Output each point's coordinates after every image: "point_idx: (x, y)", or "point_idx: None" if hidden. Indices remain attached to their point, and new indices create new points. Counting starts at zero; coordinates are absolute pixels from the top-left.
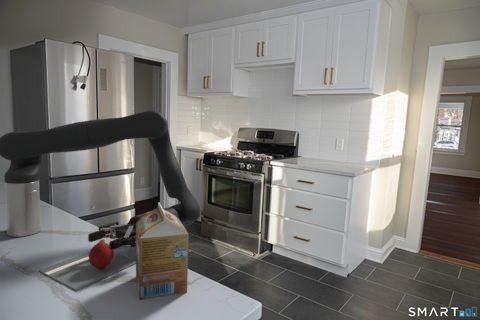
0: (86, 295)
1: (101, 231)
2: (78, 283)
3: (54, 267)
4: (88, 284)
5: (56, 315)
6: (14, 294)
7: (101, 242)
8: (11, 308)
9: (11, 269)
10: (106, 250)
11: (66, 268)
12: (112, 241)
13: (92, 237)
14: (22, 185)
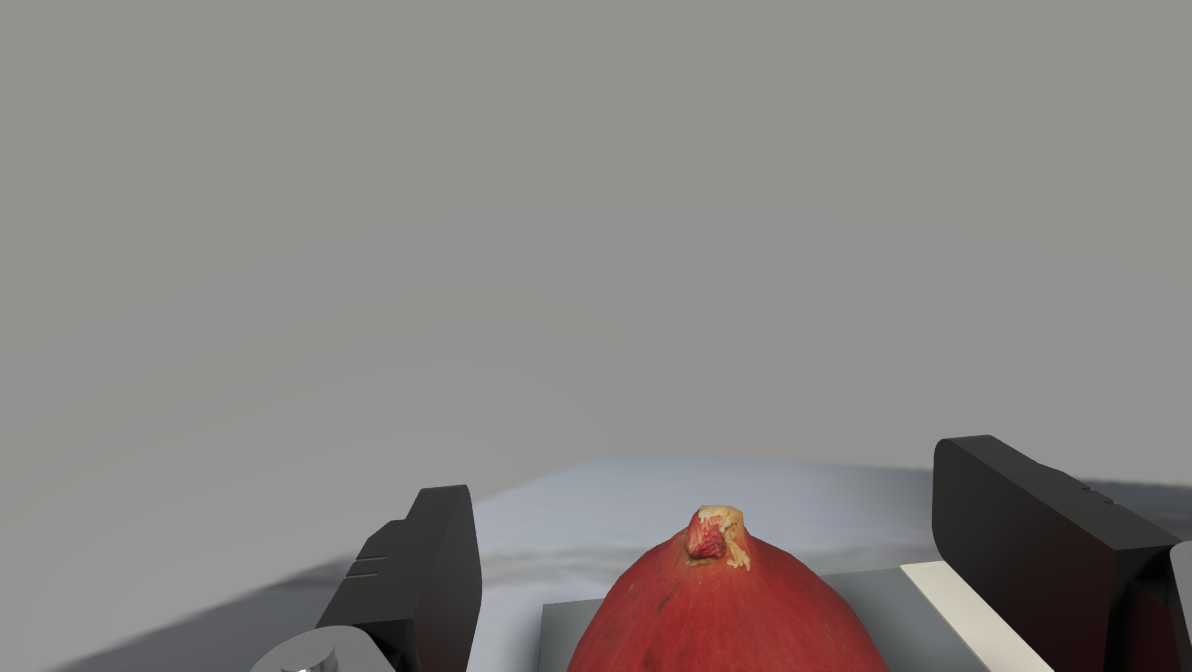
0: None
1: (1093, 550)
2: None
3: None
4: (539, 670)
5: None
6: (760, 475)
7: (685, 529)
8: (643, 461)
9: (1128, 497)
10: (587, 633)
11: (969, 664)
12: (425, 491)
13: (954, 506)
14: None
